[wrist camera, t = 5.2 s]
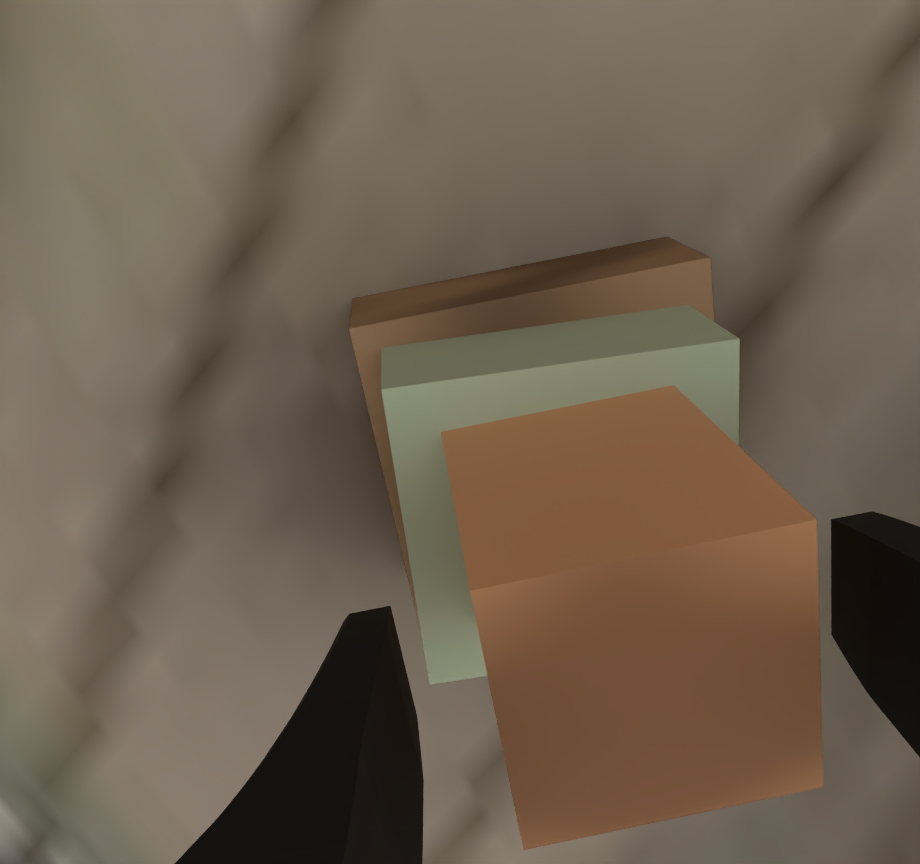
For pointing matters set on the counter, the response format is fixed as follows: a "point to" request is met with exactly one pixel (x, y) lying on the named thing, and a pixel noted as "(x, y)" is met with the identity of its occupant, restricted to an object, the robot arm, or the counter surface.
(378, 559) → the counter surface
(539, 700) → the terracotta block
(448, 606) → the sage block
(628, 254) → the walnut slab
